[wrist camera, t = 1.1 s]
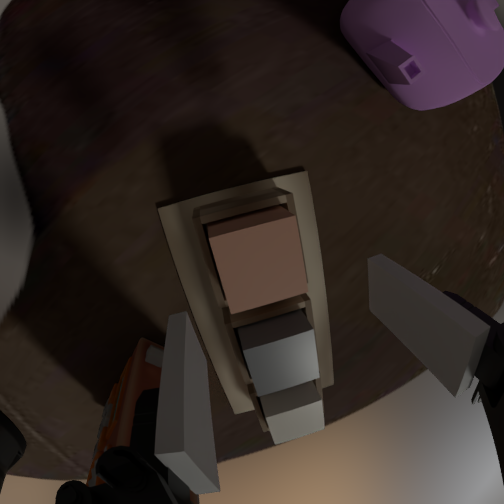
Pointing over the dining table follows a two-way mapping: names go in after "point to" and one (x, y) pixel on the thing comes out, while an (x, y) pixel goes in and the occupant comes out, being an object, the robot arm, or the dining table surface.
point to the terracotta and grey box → (128, 402)
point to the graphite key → (280, 351)
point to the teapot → (427, 46)
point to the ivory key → (293, 412)
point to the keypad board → (211, 290)
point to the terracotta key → (258, 257)
